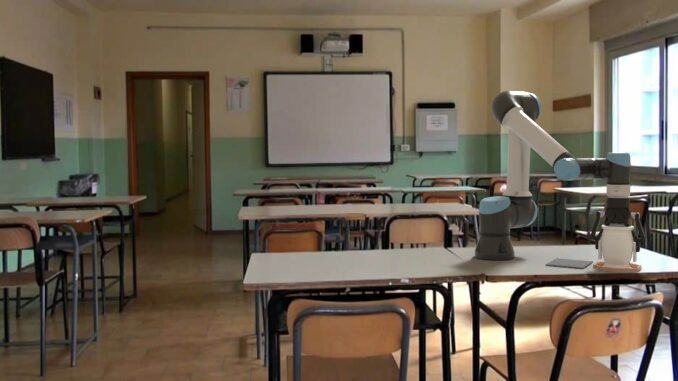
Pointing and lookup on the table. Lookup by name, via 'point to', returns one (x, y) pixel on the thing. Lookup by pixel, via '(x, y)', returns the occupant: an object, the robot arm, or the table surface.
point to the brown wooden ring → (635, 269)
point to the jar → (617, 245)
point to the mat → (569, 263)
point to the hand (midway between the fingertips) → (617, 260)
